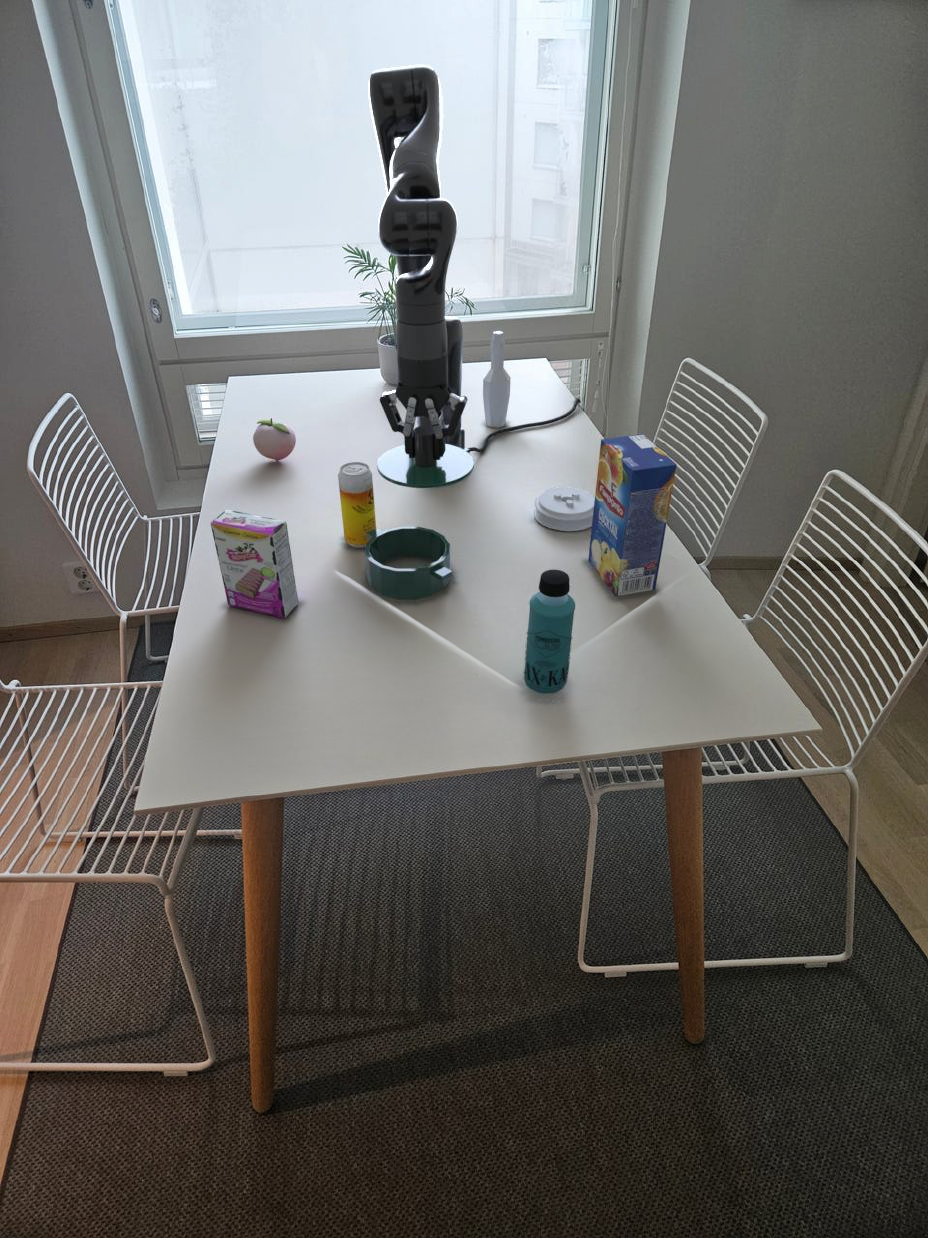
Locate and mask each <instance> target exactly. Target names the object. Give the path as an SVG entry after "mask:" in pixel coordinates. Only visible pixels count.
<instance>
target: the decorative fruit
mask: <svg viewBox="0 0 928 1238" xmlns="http://www.w3.org/2000/svg"><path fill="white" fill-rule="evenodd" d="M256 424H257V425H258V424H259V425H258V426H257V427H256V429H255V430H254V433H253V435H252V442H253V445H254V448H255V449H256V451H257V452H258V454H260V455H261V456H263V457H265V458H267V459H269V460H275V461H277V462H278V461H282V460H284V459H286V458H287V457H289V456H290V455H291V454H292V453H293V451H294V449H295V447H296V443H297V438H296V434H295V432H294V430H293V429H292V428H291V427H290V426H289V425H287V424H285V423H283V422H274V421H273V418H272V417H271V418H270V419H261V420H258V421H257V422H256Z"/></svg>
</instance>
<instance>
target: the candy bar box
mask: <svg viewBox="0 0 928 1238" xmlns="http://www.w3.org/2000/svg"><path fill="white" fill-rule="evenodd" d="M209 524H210V527H211V532H212V537H213V542H214V547H215V551H216V556H217V560H218V564H219V570H220V574H221V578H222V584H223V588H224V592H225V596H226V603H227V606H229V607H233V608H236V609H242V610H246V611H250V612H254V613H260V614H263V615H268V616H272V617H276V618H282V619H286V618H287V617H288V616H289V615H290V614H291V612H292V611H293V610H294V609H295V608H296V607H297V606H298V605H299V597H298V592H297V591H298V590H297V585H296V578H295V577H296V576H295V571H294V564H293V558H292V557H293V556H292V552H291V544H290V536H289V531H288V524H287V521H286V520H282V519H276V518H272V517H266V516H261V515H257V514H252V513H247V512H241V511H238V510H237V511H236V510H232V509H227V508H226V509H225V510H224V511H222V513H220V514H219V515H218V516H216V518H214V519H213V520H211V522H209Z"/></svg>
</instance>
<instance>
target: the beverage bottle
mask: <svg viewBox="0 0 928 1238" xmlns="http://www.w3.org/2000/svg"><path fill="white" fill-rule="evenodd" d="M570 588H571V585H570V576H569V574H568V573H567V572H565V571H563V570H560V569H554V568H553V569H548V570H545V571H544V572H542V573H541V575H540V577H539V583H538V590H539V591H537V592H536V593H535V594H533V595H532V596H531V598H530V600H529V613H528V622H527V623H528V625H527V631H526V637H525V640H526V643H525V645H524V646H525V650H524V651H525V652H524V655H525V657H524V670H523V674H522V675H523V679H524V682H525V684H526V686H527V688H528V689H530V690H531V691H533V692H535V693H538V694H543V695H552V694H555V693H558V692H559V691H561V690H563V689H564V687H565V686H566V684H567V681H568V678H569V674H570V673H569V671H570V664H571V662H570V661H571V660H570V657H571V653H572V640H573V639H574V638H573V627H574V616H575V610H576V602H575V600H574V598H573V597H572V596H571V595H570V594H569V592H570Z"/></svg>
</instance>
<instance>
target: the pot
mask: <svg viewBox="0 0 928 1238" xmlns="http://www.w3.org/2000/svg"><path fill="white" fill-rule="evenodd" d="M366 538H368V539H370V540H369V541H368V542H367V543H366V547H364V548H365V549H364V563H365V574H366V581H367V584H368V585H369V587H370V589H371V590H373V591H374V592H376V593H377V594H379V595H380V596H382V597H386V598H390V599H394V600H398V601H399V600H401V601H404V600H407V601H408V600H409V601H410V600H411V601H413V600H414V601H415V600H419V599H424V598H429V597H432V596H433V595H436V594H438V593H439V592H441V591H443V590H445V588H446V587H447V585H448V584H449V583H450V581H451V578H453V576H454V572H453V570H451V543H450V541H449V540H448V538H447V537H446V536H445V535H444V534H442V533H440V532H438V531H436V530H434V529H431V528H427V527H423V526H399V527H393V528H388V529H385V530H380V529H379V528H377V527H376V528H375V529H373V530H371V531H369V532H367V533H366ZM401 557H421V558H426V559H428V560H431V561H433V562H431V563H429V564H428V565H424V566H419V567H415V568H396V567H393V566H387V565H384V564H383V563H385V562H387V561H389V560H391V559H392V560H393V559H396V558H401Z"/></svg>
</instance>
